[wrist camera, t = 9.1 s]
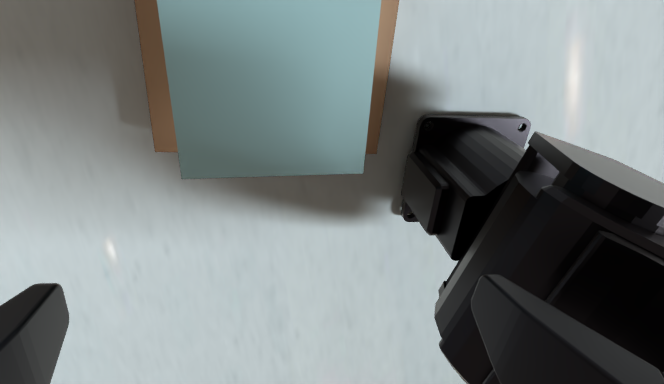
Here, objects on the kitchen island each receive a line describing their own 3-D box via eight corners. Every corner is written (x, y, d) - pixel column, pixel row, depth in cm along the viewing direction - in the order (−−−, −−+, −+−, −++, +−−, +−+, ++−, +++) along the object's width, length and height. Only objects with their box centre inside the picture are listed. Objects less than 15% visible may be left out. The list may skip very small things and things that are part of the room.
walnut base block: (389, -90, 17) (414, -101, 14) (361, 131, 22) (376, 154, 19) (138, -123, 15) (115, -142, 13) (167, 127, 20) (155, 151, 17)
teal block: (329, -27, 15) (383, -22, 9) (323, 102, 18) (363, 173, 12) (192, -36, 14) (151, -37, 8) (205, 102, 17) (181, 178, 11)
